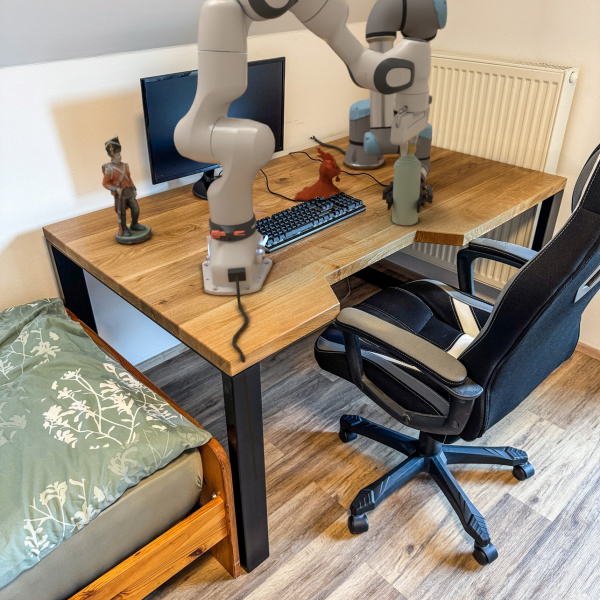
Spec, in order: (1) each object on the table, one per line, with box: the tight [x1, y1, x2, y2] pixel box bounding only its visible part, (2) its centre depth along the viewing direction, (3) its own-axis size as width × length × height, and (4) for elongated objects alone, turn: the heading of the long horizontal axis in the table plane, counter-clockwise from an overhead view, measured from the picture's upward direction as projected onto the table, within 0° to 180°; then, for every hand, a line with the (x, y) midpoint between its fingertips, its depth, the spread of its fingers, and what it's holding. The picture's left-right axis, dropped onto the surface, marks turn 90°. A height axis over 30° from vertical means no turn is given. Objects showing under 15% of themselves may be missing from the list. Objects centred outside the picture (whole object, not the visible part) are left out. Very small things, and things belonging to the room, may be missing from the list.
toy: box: [294, 147, 342, 202], centre depth 188 cm, size 13×18×15 cm
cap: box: [400, 143, 416, 154], centre depth 160 cm, size 5×5×2 cm
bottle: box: [391, 153, 421, 226], centre depth 166 cm, size 8×8×22 cm
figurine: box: [101, 134, 152, 245], centre depth 160 cm, size 11×11×30 cm
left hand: (408, 152), depth 161 cm, fingers closed on cap, 4 cm apart
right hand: (403, 207), depth 164 cm, fingers closed on bottle, 8 cm apart
